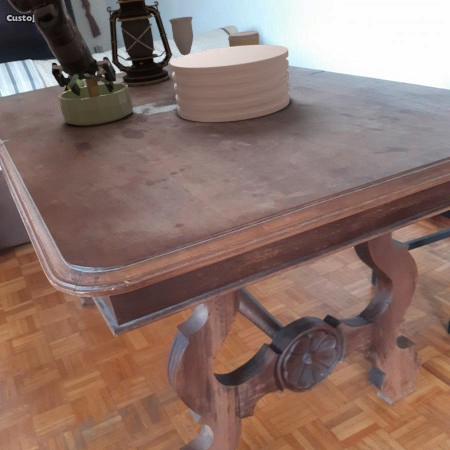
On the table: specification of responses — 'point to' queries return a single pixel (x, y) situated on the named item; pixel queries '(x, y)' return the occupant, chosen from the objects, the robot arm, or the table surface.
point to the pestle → (92, 87)
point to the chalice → (182, 34)
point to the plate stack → (231, 83)
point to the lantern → (139, 42)
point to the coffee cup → (244, 38)
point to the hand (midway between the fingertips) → (94, 90)
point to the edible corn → (79, 82)
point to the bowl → (96, 105)
